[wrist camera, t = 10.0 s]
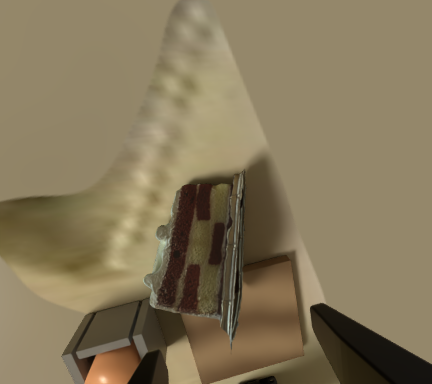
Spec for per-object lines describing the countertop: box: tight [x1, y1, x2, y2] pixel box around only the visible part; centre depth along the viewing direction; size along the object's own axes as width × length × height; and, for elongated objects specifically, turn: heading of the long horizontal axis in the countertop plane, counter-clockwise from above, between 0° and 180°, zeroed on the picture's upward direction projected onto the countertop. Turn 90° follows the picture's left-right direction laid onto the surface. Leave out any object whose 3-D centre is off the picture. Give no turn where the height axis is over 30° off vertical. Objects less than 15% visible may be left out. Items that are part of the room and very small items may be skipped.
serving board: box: [181, 255, 304, 384], centre depth 22 cm, size 12×11×1 cm
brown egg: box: [84, 338, 141, 384], centre depth 19 cm, size 4×4×4 cm
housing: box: [62, 298, 167, 384], centre depth 19 cm, size 6×6×4 cm
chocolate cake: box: [143, 169, 246, 350], centre depth 18 cm, size 10×7×12 cm
